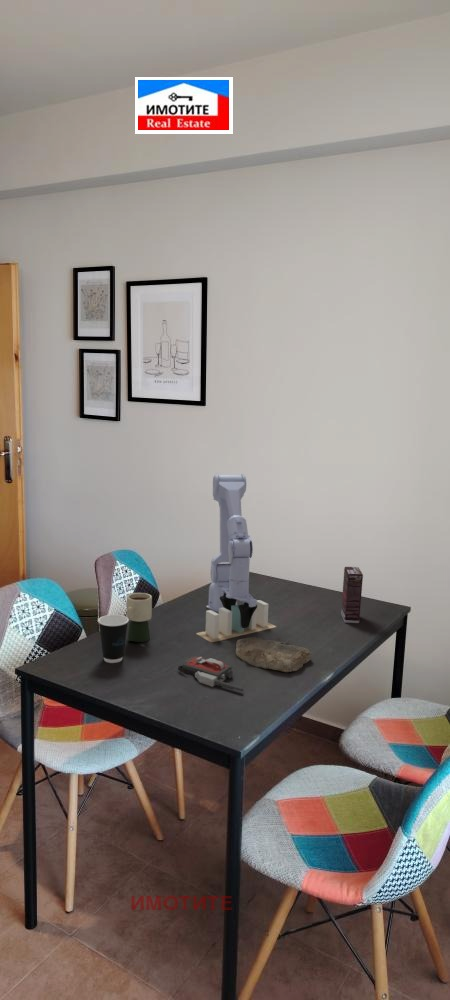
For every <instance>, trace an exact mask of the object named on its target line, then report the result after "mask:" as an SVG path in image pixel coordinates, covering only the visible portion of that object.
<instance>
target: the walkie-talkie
mask: <svg viewBox="0 0 450 1000" xmlns="http://www.w3.org/2000/svg"><path fill="white" fill-rule="evenodd" d="M177 669H178V671H180V672H182V674H184V675H188V674H190V675H193V677H194V678H196V681H198V683H201V684H203V685H206V686H209V687H212V688H213V687H215V686H220V687H223V688H226V689H228V690H229V689H230V690H237V691H239V692H244V688H243V687H242V686H237V685H234V684H230V683H228V682H225V680H227V679H232V677H233V675H234V674H233V670H232V669H233V667H232V666H231V665H227V664H225V662H223V661H222V660H218V659H215V658H211V657H210V658H207V659H206V658H203V656H194V655H192V656H191V657H189V658H187V659H186V660H184V661H183V662H182V665H178V667H177Z"/></svg>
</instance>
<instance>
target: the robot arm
mask: <svg viewBox="0 0 450 1000" xmlns="http://www.w3.org/2000/svg"><path fill="white" fill-rule="evenodd" d="M246 492H247V478H246V476H245V474H217V473H216V474H214V475H213V477H212V497H213V500H214V501H216V502H218V506H219V553H217V554H216V555H215V556H213V557H212V559H211V563H210V580H211V583H210V585H209V588H208V605H206V606H205V607H206V608H207V609H210V610H212V611H214V612H216V613H218V614H219V608H223V607H224V608H226V609H228V610H230V611H231V606H233V605H237V606H238V608H239V610H240V614H241V626H242V628H247V627H249V624H250V620H251V617H252V615H253V613H254V611H255V610H256V608H257V605H256V601H257V599H256V598H254V597H253V596H252V595H251V594H250V592H249V589H250V588H249V584H250V564H251V563H250V561H251V558H252V557H253V553H254V552H253V549H254V547H253V540H252V538H251V535H249V531H248V525H247V519H246V518H245V517H243V516H242V501H241V500H242V499H243V497H244V496H245V493H246ZM238 601H239V602H241V603H242V604H238ZM243 603H244V604H243Z"/></svg>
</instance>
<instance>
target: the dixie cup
mask: <svg viewBox="0 0 450 1000" xmlns="http://www.w3.org/2000/svg"><path fill="white" fill-rule="evenodd" d="M129 621H130V620H129V619H128V618H127V616H126V615H121V614H107V615H103V616H100V617H99V618H98V619H97V622H98V624H99V634H100V642H101V650H102V651H101V653H102V657H103V660H104V662H106V663H109V664H114V663H115V664H116V663H120V662H122V661H123V657H124V655H125V647H126V646H125V645H126V639H127V631H128V623H129Z"/></svg>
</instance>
